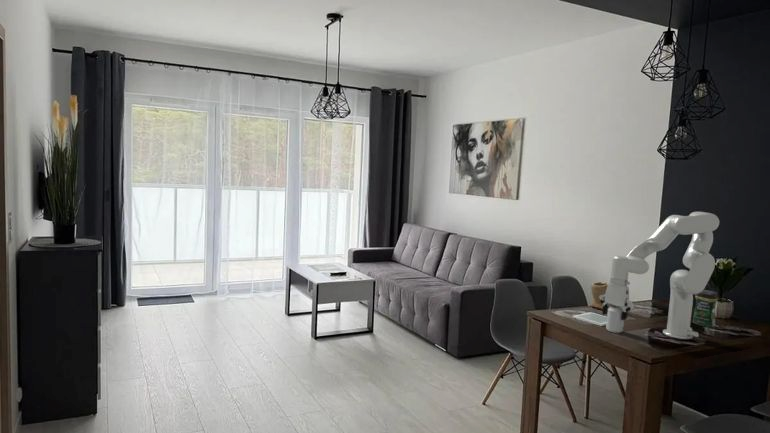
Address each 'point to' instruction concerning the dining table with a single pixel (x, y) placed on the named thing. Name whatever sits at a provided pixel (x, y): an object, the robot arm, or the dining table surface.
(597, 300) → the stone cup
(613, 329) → the can
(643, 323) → the dining table surface
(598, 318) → the trivet
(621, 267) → the robot arm
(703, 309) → the coffee jar
